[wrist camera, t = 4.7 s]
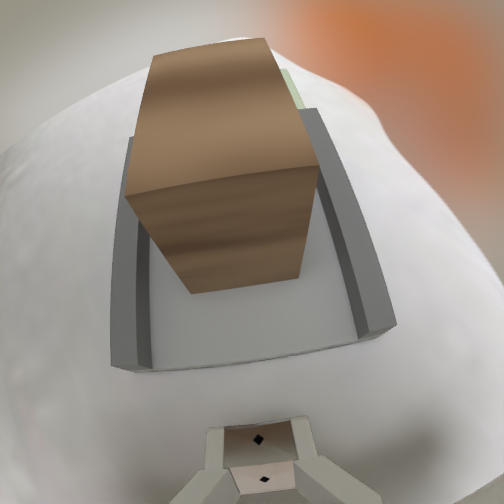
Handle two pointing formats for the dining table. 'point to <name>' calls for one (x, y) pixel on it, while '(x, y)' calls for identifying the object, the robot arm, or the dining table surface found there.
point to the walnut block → (223, 167)
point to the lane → (252, 287)
